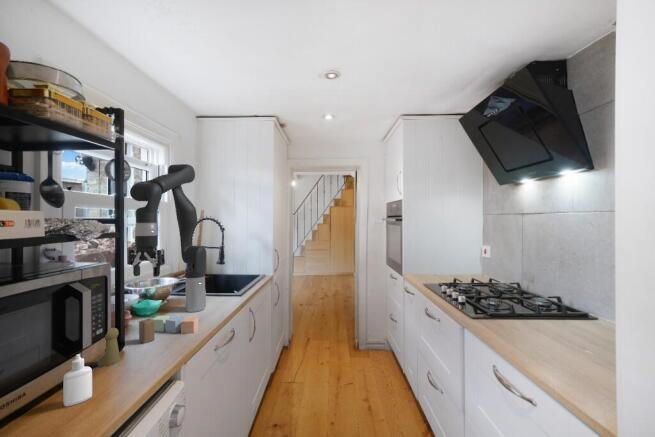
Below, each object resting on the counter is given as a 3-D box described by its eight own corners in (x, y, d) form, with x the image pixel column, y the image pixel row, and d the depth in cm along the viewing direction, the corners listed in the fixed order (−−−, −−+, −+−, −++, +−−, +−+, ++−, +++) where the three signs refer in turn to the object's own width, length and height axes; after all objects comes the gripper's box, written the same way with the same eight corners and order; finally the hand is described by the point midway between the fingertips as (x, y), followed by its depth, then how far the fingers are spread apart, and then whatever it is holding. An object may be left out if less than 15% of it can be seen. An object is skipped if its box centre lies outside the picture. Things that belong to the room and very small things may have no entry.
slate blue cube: (174, 327, 128) (174, 316, 128) (184, 328, 127) (184, 317, 127) (165, 331, 123) (165, 320, 123) (175, 333, 122) (175, 321, 122)
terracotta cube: (186, 329, 126) (185, 317, 126) (198, 328, 126) (197, 317, 126) (181, 333, 121) (181, 321, 121) (193, 333, 121) (193, 321, 121)
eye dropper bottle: (87, 403, 75) (87, 356, 75) (60, 408, 73) (60, 360, 73) (94, 394, 79) (94, 349, 79) (68, 398, 77) (68, 352, 77)
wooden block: (138, 341, 113) (138, 321, 113) (149, 338, 116) (149, 318, 116) (144, 344, 111) (144, 322, 111) (154, 340, 114) (154, 319, 114)
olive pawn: (124, 359, 99) (124, 326, 99) (105, 368, 93) (105, 333, 93) (111, 356, 101) (111, 324, 101) (92, 365, 95) (92, 331, 95)
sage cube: (158, 327, 129) (158, 315, 129) (169, 327, 129) (169, 315, 129) (151, 331, 124) (151, 319, 124) (163, 331, 124) (163, 319, 124)
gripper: (169, 234, 116) (169, 275, 116) (138, 234, 119) (138, 274, 119) (155, 235, 109) (155, 278, 109) (122, 234, 112) (122, 277, 111)
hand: (146, 276), depth 114 cm, fingers open, 8 cm apart
